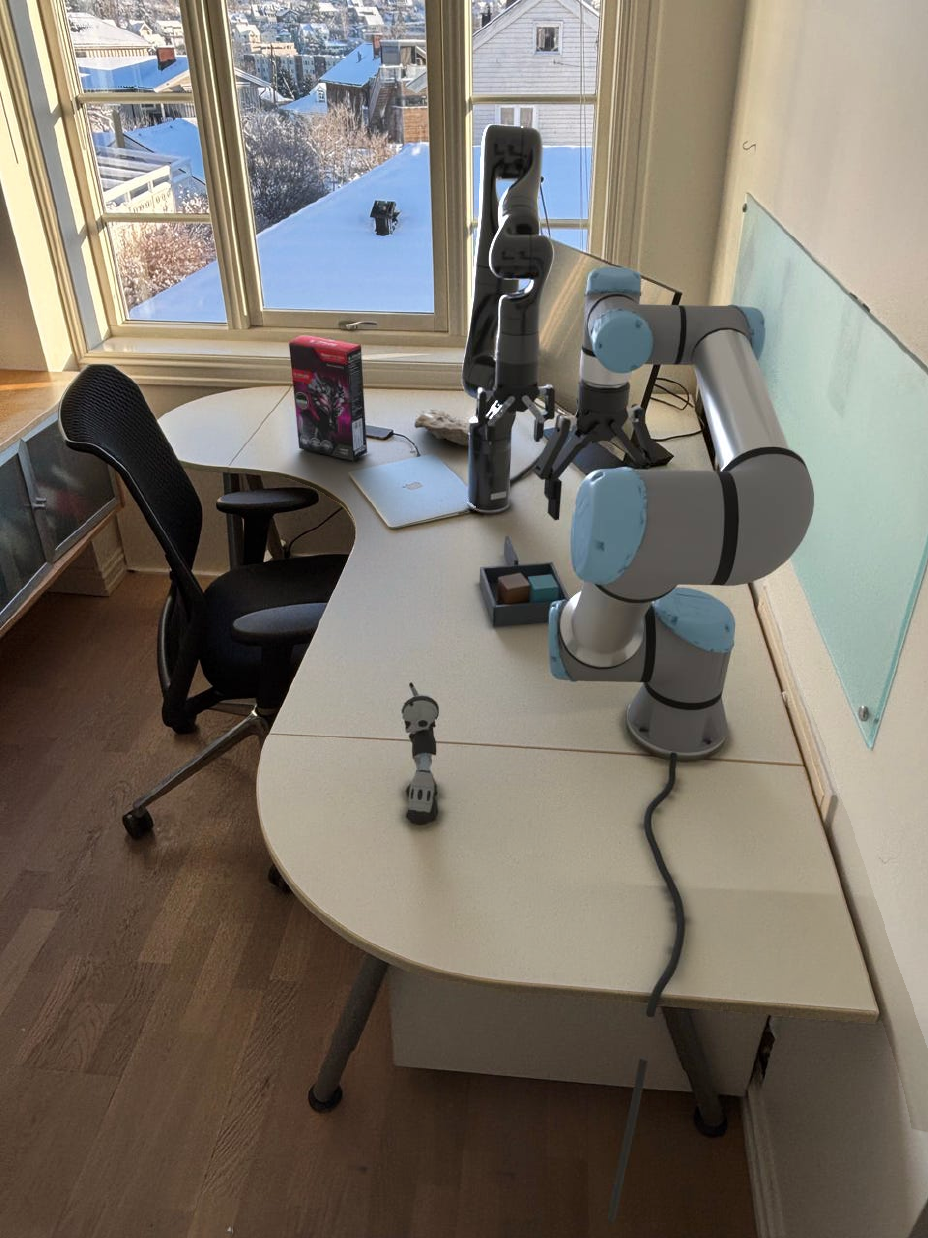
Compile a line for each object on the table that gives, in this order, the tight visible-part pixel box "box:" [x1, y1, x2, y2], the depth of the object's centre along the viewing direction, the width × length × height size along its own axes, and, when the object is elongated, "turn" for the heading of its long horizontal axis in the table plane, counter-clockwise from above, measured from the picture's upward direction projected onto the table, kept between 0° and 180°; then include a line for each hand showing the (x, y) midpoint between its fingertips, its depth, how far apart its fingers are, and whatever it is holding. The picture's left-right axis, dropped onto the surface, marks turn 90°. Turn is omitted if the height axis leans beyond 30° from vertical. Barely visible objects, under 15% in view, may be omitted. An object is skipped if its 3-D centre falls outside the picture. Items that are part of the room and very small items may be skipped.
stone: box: [413, 409, 469, 447], centre depth 236 cm, size 21×15×6 cm
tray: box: [479, 535, 571, 627], centre depth 176 cm, size 24×14×5 cm, turn 9°
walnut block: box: [497, 573, 530, 605], centre depth 169 cm, size 4×4×6 cm
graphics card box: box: [288, 334, 368, 462], centre depth 223 cm, size 17×7×27 cm, turn 62°
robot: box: [401, 681, 440, 826], centre depth 124 cm, size 20×5×20 cm, turn 3°
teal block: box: [528, 575, 558, 603], centre depth 169 cm, size 4×4×6 cm
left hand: (514, 441), depth 171 cm, fingers open, 8 cm apart
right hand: (592, 510), depth 147 cm, fingers open, 13 cm apart
